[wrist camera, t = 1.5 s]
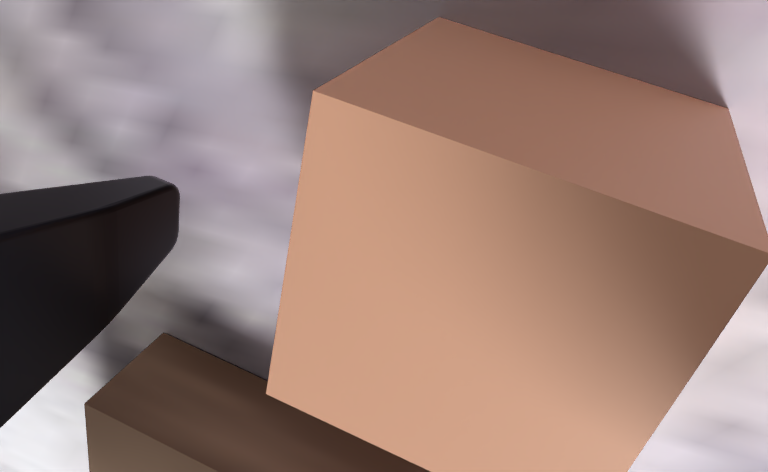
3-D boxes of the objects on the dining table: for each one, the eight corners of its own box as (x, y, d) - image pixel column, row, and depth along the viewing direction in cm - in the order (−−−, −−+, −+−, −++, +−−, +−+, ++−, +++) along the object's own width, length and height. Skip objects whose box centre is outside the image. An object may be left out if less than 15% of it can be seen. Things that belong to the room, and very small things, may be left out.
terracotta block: (605, 334, 13) (579, 541, 9) (382, 244, 14) (265, 394, 10) (727, 106, 10) (774, 254, 6) (439, 15, 11) (312, 90, 7)
